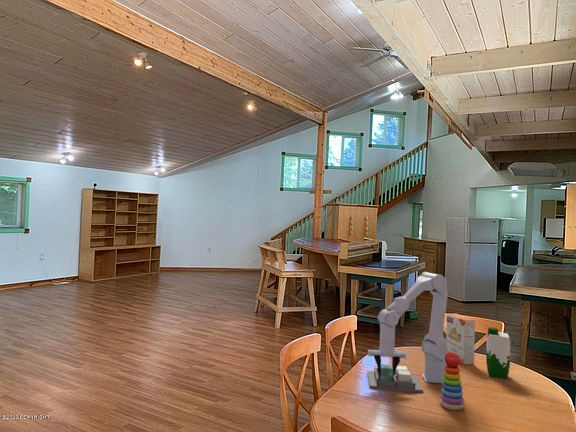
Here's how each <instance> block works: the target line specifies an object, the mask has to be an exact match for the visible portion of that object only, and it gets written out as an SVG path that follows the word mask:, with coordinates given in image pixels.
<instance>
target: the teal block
mask: <svg viewBox="0 0 576 432" xmlns="http://www.w3.org/2000/svg"><path fill="white" fill-rule="evenodd" d="M380 379H381V380H389V381H393V367H392V364H382V363H381V376H380Z"/></svg>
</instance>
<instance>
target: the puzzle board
mask: <svg viewBox="0 0 576 432" xmlns="http://www.w3.org/2000/svg"><path fill="white" fill-rule="evenodd" d="M373 368H374V369H373V371H370V370H367V371H366V374H367V380H368V381H367V382H368V385H369V389H373V390H376V389H377V390H385V391H387V390H388V391H396V392H397V391H398V392H408V393H409V392H410V393H422V394H423V393H424V388H423V387H422V385H421V383H420V380H419V379H418V377H417V375H416V374H411V371H410V369H408V368H407V366H405V365H404V366H403V365H398V366H397V368H396V370H395V374H394V377H393V381H389V380H381V379H380V376H379V374H378V367H373Z"/></svg>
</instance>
